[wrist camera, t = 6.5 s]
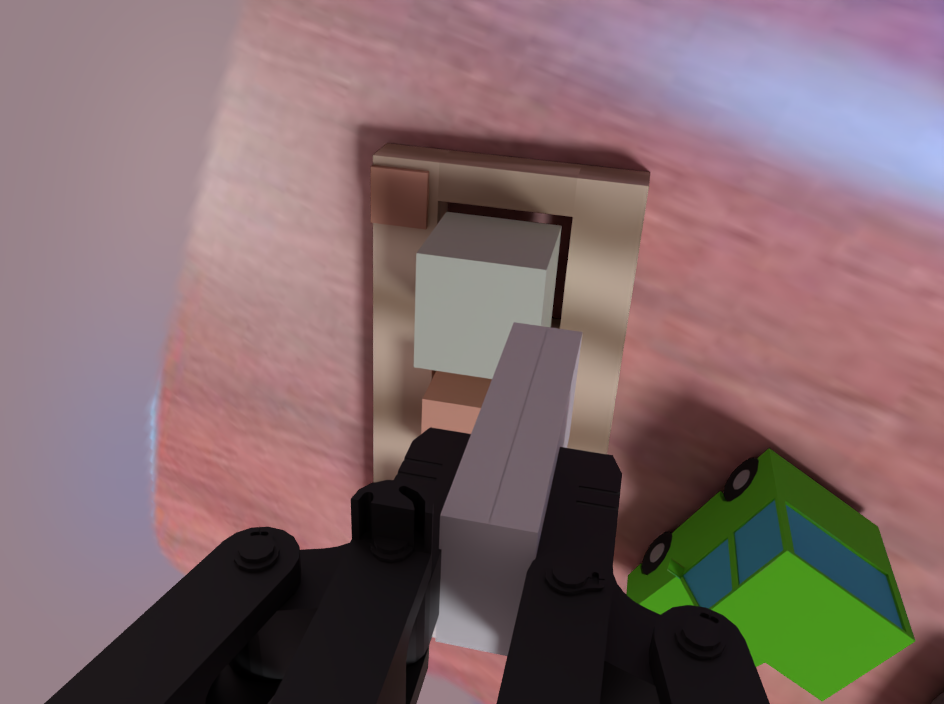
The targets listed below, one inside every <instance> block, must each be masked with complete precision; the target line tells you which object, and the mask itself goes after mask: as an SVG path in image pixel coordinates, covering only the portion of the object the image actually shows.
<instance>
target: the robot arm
mask: <svg viewBox="0 0 944 704" xmlns="http://www.w3.org/2000/svg"><path fill="white" fill-rule="evenodd" d="M581 340H582V332H579V331H572V330H565V329H558V328H551V327H544V326H537V325H530V324H523V323H516V322H514V323H513V326H512V328H511V331H510V333H509V336H508V339H507V341H506V344H505V347H504V349H503V352H502V354H501V357H500V360H499V362H498V365H497V367H496V370H495V373H494V375H493V378H492V381H491V383H490V386H489V388H488V391H487V394H486V396H485V399H484V402H483V404H482V407H481V409H480V412H479V415H478V417H477V420H476V423H475V425H474V428H473V430H472V433H471V434H468V433H462V432H456V431H450V430H444V429H438V428H432V427H430V428H429V429H427V430H426V431H425V432H423V433H422V434H421V435H419V436H418V437H417V438H415V439H414V440H413V441H412V443H411V445H410V447H409V449H408V451H407V453H406V455H405V457H404V461H403V462H402V464H401V466H400V468H399V470H398V474H397V475H396V476H395V478H394V480H384V481H379V482H374V483H371V484H369V485H367V486H365V487H363V488H361V489H359V490H358V491H357V492H356V494H355V495H354V496H353V497H352V498H351V523H352V540H351V542H350V543H348V544H344V545H341V546H338V547H332V548H324V549H307V550H300V547H299V545H298V543H297V542H296V540H295V538H294V537H293V536H291V535H290V534H288V533H287V532H285V531H284V530H281V529H276V528H271V527H255V528H249V529H246V530H243V531H240V532H237V533H235V534H234V535H232V536H230V537H229V538H227V539H226V540H224V541H223V542H222V543H221V544H220V545H219V546H218V547H216V548H215V549H214V550H213V551H212V552H211V553H210V554H209V555H208V556H206V557H205V558H204V559H203V560H202V561H201V562H200V563H199V564H198V565H197V566H195V567H194V568H193V569H192V570H191V571H190V572H189V573H188V574H187V575H186V576H185V577H183V578H182V579H181V580H180V581H179V582H178V583H177V584H176V585H175V586H173V587H172V588H171V589H170V590H169V591H168V592H167V593H166V594H165V595H163V596H162V597H161V598H160V599H159V600H158V601H157V602H156V603H155V604H154V605H153V606H152V607H150V608H149V609H148V610H147V611H146V612H145V613H144V614H143V615H141V616H140V617H139V618H138V619H137V620H136V621H135V622H134V623H133V624H132V625H131V626H129V627H128V628H127V629H126V630H125V631H124V632H123V633H122V634H121V635H119V636H118V637H117V638H116V639H115V640H114V641H113V642H112V643H111V644H110V645H108V646H107V647H106V648H105V649H104V650H103V651H102V652H101V653H100V654H99V655H98V656H96V657H95V658H94V659H93V660H92V661H91V662H90V663H89V664H87V665H86V666H85V667H84V668H83V669H82V670H81V671H80V672H79V673H77V674H76V675H75V676H74V677H73V678H72V679H71V680H70V681H69V682H68V683H66V684H65V685H64V686H63V687H62V688H61V689H60V690H59V691H58V692H57V693H55V694H54V695H53V696H52V697H51V698H50V699H49V700H48V701H47V702H46V703H44V704H416V703H417V700H418V697H419V694H420V691H421V688H422V685H423V682H424V678H425V675H426V672H427V669H428V659H429V644H430V641H431V638H432V634H433V631H434V628H435V625H436V641H437V642H441V643H446V644H451V645H456V646H461V647H466V648H471V649H476V650H480V651H485V652H490V653H495V654H500V655H505V656H507V661H506V665H505V669H504V674H503V678H502V683H501V687H500V691H499V696H498V700H497V704H770V703H769V700H768V698H767V695H766V693H765V690H764V687H763V685H762V682H761V679H760V677H759V674H758V672H757V669H756V666H755V664H754V661H753V659H752V656H751V653H750V651H749V648H748V645H747V643H746V640H745V639H744V637H743V635H742V634H741V632H740V631H739V629H738V627H737V626H736V625H735V624H733V623H732V622H731V621H730V620H728V619H727V618H726V617H725V616H724V615H722V614H720V613H717V612H715V611H713V610H711V609H708V608H706V607H699V606H693V605H684V606H677V607H672V608H671V609H669V610H667V611H665V612H664V613H662V614H661V615H660V614H658V613H656V612H654V611H651V610H649V609H647V608H645V607H643V606H642V605H640V604H638V603H636V602H635V601H633V600H632V599H631V598H630V597H628V596H627V595H626V594H625V593H624V592H623V591H622V589H621V588H620V587H619V585H618V584H617V582H616V580H615V577H614V575H613V556H614V547H615V537H616V527H617V518H618V508H619V498H620V489H621V479H622V473H621V471H620V469H619V467H618V465H617V463H616V461H615V459H614V457H613V455H607V454H601V453H595V452H589V451H583V450H577V449H571V448H567V445H568V440H569V435H570V427H571V419H572V411H573V403H574V396H575V388H576V380H577V372H578V364H579V356H580V348H581Z"/></svg>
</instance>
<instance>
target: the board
mask: <svg viewBox="0 0 944 704" xmlns="http://www.w3.org/2000/svg"><path fill="white" fill-rule="evenodd" d="M649 180H650V172H645V171H636V170H627V169H618V168H608V167H599V166H590V165H581V164H572V163H563V162H554V161H545V160H536V159H527V158H518V157H508V156H499V155H490V154H481V153H472V152H463V151H454V150H445V149H436V148H427V147H418V146H409V145H399V144H390V143H387V144H385V145H384V146H383V147H382V148H381V149H380V150H378V151H377V152H376V153H375V154H374V155H373V165H372V166H371V223H373V483H374V482H379V481H384V480H394V478H395V476H396V475H397V474H398V470H399V468H400V466H401V464H402V462H403V461H404V457H405V455H406V453H407V451H408V449H409V447H410V445H411V443H412V441H413V440H414V439H415V438H417V437H418V436H419V435H421V426H422V399H423V397H424V395H425V393H426V391H427V389H428V387H429V385H430V383H431V381H432V379H433V377H434V375H435V373H436V371H435V370H429V369H422V368H415V367H414V332H415V291H416V253H417V252H418V250H419V249H420V248H421V246H422V245H423V243H424V242H425V241H426V239H427V238H428V237H429V235H430V234H431V232H432V231H433V230H434V228H435V227H436V226H437V224H438V223H439V221H440V220H441V219H442V217H443V216H444V215H445V213H446V212H448V202H453V203H461V204H470V205H478V206H487V207H495V208H503V209H512V210H520V211H528V212H537V213H545V214H553V215H562V216H570V217H573V220H572V228H571V237H570V246H569V254H568V263H567V272H566V280H565V289H564V298H563V306H562V315H561V320H560V319H553V318H552V319H551V328H558V329H565V330H572V331H579V332H582V340H581V348H580V356H579V364H578V372H577V380H576V388H575V396H574V403H573V411H572V419H571V427H570V435H569V440H568V445H567V448H571V449H577V450H583V451H589V452H595V453H601V454H607V450H608V444H609V437H610V431H611V425H612V418H613V412H614V406H615V399H616V393H617V387H618V380H619V374H620V367H621V361H622V355H623V348H624V342H625V336H626V329H627V323H628V316H629V310H630V304H631V297H632V291H633V285H634V278H635V272H636V266H637V259H638V253H639V246H640V240H641V234H642V227H643V221H644V215H645V208H646V202H647V195H648V189H649Z"/></svg>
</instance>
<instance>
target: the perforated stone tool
mask: <svg viewBox="0 0 944 704" xmlns="http://www.w3.org/2000/svg"><path fill="white" fill-rule="evenodd" d="M931 704H944V692H943V693H941V694H940V695H939V696H938V697H936V698H935V699H934V700H933V701H932V703H931Z"/></svg>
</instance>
